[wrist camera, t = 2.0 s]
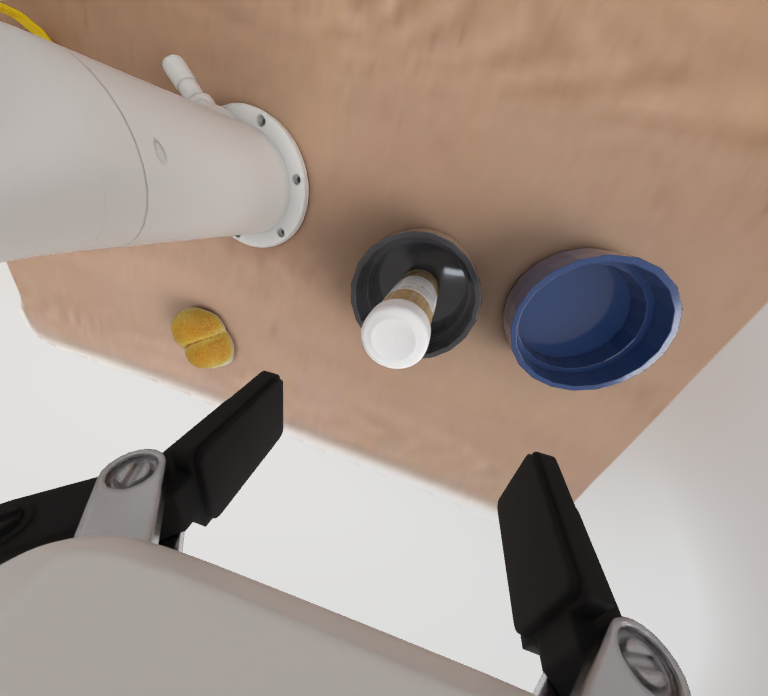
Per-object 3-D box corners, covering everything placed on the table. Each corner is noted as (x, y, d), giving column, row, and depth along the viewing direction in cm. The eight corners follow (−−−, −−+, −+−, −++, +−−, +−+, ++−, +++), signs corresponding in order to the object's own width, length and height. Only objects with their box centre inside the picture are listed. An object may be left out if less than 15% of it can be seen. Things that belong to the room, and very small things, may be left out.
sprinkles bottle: (415, 317, 31) (389, 382, 19) (389, 286, 30) (345, 333, 18) (448, 292, 29) (443, 348, 17) (422, 258, 28) (396, 291, 16)
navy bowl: (484, 286, 28) (489, 300, 24) (623, 220, 23) (662, 221, 19) (526, 378, 31) (538, 405, 27) (656, 337, 26) (696, 362, 22)
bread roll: (213, 298, 37) (187, 308, 33) (246, 356, 40) (226, 370, 36) (173, 313, 39) (146, 323, 36) (207, 366, 43) (184, 379, 39)
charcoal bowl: (346, 266, 30) (327, 275, 26) (445, 202, 25) (442, 200, 21) (399, 353, 34) (390, 374, 29) (495, 311, 29) (502, 329, 24)
